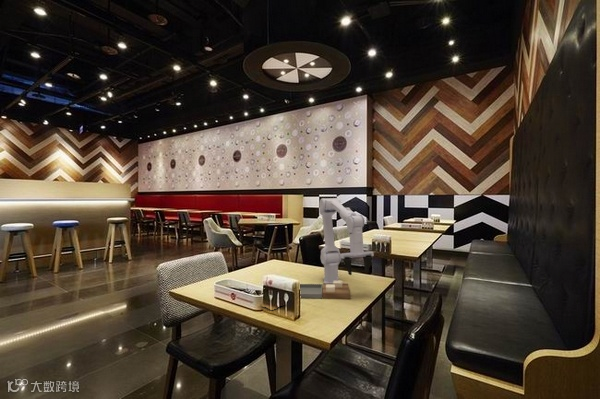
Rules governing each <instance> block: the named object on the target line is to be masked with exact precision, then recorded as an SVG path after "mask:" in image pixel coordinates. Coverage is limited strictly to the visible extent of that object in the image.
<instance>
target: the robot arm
mask: <svg viewBox="0 0 600 399" xmlns="http://www.w3.org/2000/svg"><path fill="white" fill-rule="evenodd" d="M318 209H319V214H320V215H321V216H322V218H321V219H322V225H323V237H324V247H323V248H321V250H320V262H321V264H322V265H323V266H324V267H323V269H324V270H323V271H324V273H323V274H324V278H323V283H334V282H333V281H340V277H339V265H340V263H341V260H342V261H343V262H344V265H345V267H346V268H347V274H348V275H350V276H352V274H353V272H352V260H353V259H351V258H362V259H363V264H364V273H365V274H367V275H368V274H369V270H370V266H371V263H372V261H373V259H374V258H373V257H374V255H375V253H374V251H369V250H368V251H364V249H365V248H364V238H363V237H364V236H363V228H364V226H365V223H366V222H365V218H364V217H363V215H362V214H356V213H355V212H354V211H352V209H351V208H350V207H345V206H343V204H342V203H341V199H339V198H338V197H335V198H334V197H333V198H331V197H330V198H328V197H327V198H326V197H325V198H324V197H322V198H321V199H320V200H319V204H318ZM336 213H338V214H339V217H340V218H341V219H342V220H343V221H344V222H345V224H346V227H347V232H348V234H349V236H348V237H349V251H350V252H343V253H341V252H340V248H339V247H337V246H336V245H335V244H336V243H335V237H334V236H335V234H334V227H333V226H334V225H333V215H334V214H336Z"/></svg>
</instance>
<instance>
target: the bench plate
mask: <svg viewBox="0 0 600 399" xmlns="http://www.w3.org/2000/svg"><path fill="white" fill-rule="evenodd" d="M322 284H323V292H322V300H351V290H350V286H349V283H343V282H342V288H341V287H335V292H326V284H333V285H334V283H324V282H323V283H322Z"/></svg>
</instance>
